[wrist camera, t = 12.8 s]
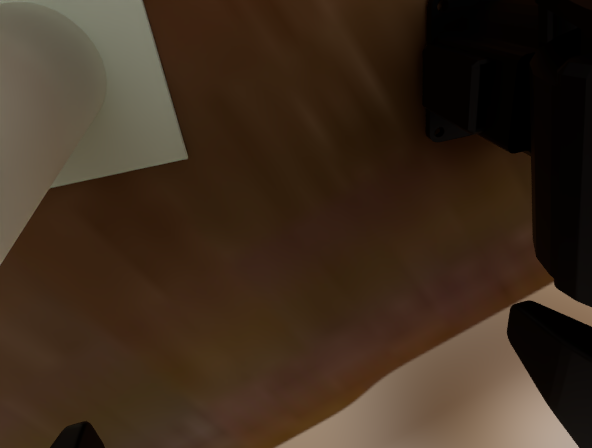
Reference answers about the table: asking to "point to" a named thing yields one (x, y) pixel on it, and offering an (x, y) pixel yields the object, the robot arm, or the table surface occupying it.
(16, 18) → the plug
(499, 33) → the robot arm
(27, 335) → the table surface
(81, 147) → the mat
